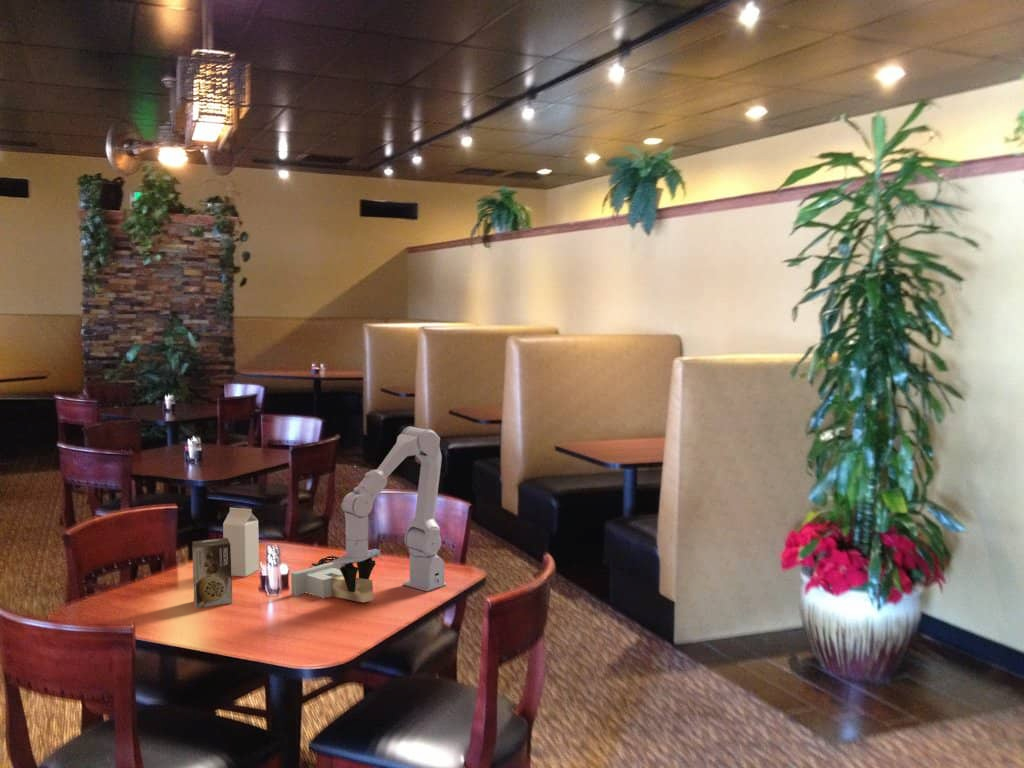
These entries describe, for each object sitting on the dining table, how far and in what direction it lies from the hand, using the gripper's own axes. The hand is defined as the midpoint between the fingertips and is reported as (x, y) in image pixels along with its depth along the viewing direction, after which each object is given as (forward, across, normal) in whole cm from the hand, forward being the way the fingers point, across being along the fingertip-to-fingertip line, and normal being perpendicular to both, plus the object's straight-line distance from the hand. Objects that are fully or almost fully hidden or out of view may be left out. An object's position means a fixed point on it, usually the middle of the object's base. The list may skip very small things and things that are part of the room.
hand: (357, 589), depth 231 cm
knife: (+4, -11, -30) cm, 32 cm away
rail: (+3, 0, -3) cm, 4 cm away
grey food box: (+3, +25, -28) cm, 38 cm away
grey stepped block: (+3, 0, -12) cm, 12 cm away
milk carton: (+3, +5, -45) cm, 45 cm away
